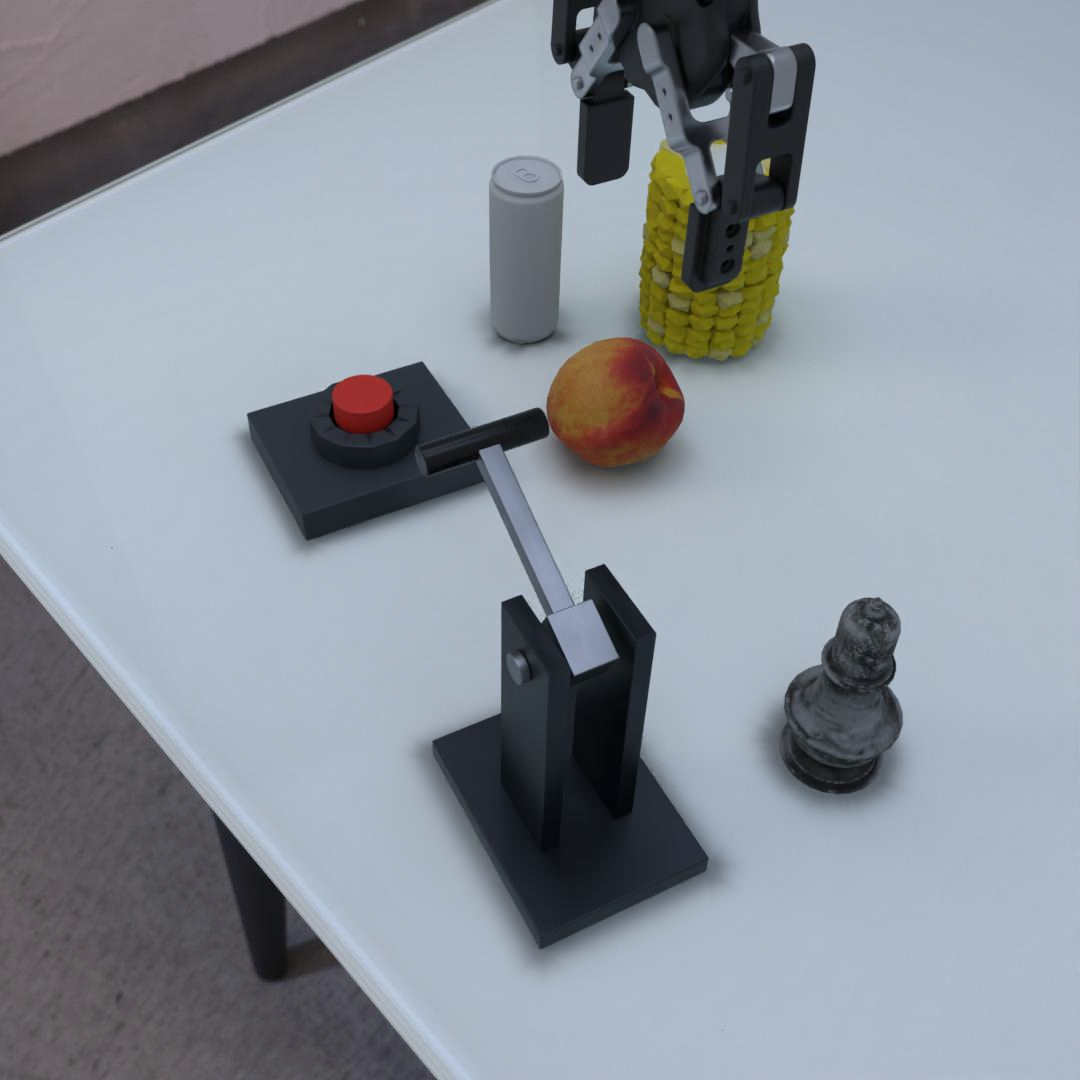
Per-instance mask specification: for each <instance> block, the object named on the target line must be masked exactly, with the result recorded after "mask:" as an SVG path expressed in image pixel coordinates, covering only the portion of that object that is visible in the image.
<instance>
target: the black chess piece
mask: <svg viewBox="0 0 1080 1080" xmlns="http://www.w3.org/2000/svg"><path fill="white" fill-rule="evenodd" d="M900 618H901V617H900V616H899V614H898V612H897V611H896V610H895V608H894V607H893V606H892V605H890V604H889V603H888V602H886V601H885V600H883V599H882V598H881V597H880V596H878V597H877V596H876V597H869V596H868V597H861V598H858V599H854V600H853V601H850V603H848V604H847V605H846V607H845V608H844V609H843V610H842V612H841V615H840V617H839V621H838V624H837V627H836V631H835V635H834V636H833V637H831V638H830V639H828V640H827V642H826V643H825V644H824V646H823V648H822V651H821V653H820V662H821V663H820V664H818V665H814V666H811V667H808V668H806V669H804V670H803V671H801V672H799V673H797V675H795V677H794V678H793V679H792V680H791V681H790V682H789V684H788V687H787V689H786V692H785V694H784V703H783V710H784V713H785V717H786V720H787V722H786V724H785V725H784V726H783V729H782V731H781V733H780V736H779V751H780V755H781V760H782V761H783V764H784V765H785V766H786V768H787V770H788V771H789V772H790V773H791V774H792V775H793V776H794V777H795V778H796V779H797V780H798V781H799V782H802V784H804V785H806V786H807V787H809V788H811V789H814V790H817V791H819V792H822V793H827V794H833V795H844V794H852V793H855V792H858V791H861V790H863V789H865V788H867V787H868V786H869V785H871V784H873V782H874V780H875V779H876V778H877V776H878V775H879V774H880V770H881V768H882V764H883V753H884V752H886V751H887V750H890V749H891V748H892V747H893V746H894V744H895V743H896V742H897V740H898V739H899V738H900V735H901V732H902V728H903V726H904V714H903V713H904V711H903V709H902V705H901V703H900V701H899V699H898V697H897V696H896V694H895V693H894V691H893V690H892V688H891V687H890V686H889V685H890V684H891V683H892V682H893V680H894V679H895V676H896V673H897V661H896V657H895V655H894V653H895V650H896V647H897V644H898V642H899V640H900V639H899V638H900V635H901V634H902V621H901V619H900Z"/></svg>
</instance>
